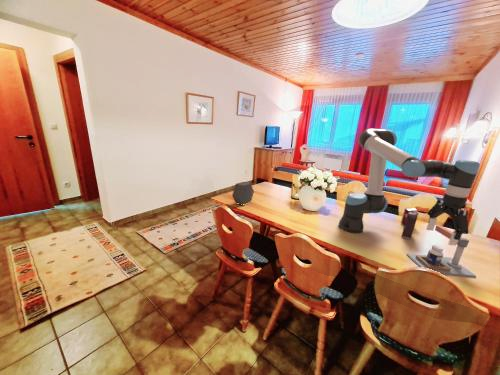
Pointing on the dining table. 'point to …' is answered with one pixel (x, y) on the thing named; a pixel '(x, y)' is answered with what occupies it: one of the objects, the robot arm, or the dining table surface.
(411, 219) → the supplement box
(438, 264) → the pill bottle
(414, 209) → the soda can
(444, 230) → the bar
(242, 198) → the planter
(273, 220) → the dining table surface
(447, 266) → the latch board
